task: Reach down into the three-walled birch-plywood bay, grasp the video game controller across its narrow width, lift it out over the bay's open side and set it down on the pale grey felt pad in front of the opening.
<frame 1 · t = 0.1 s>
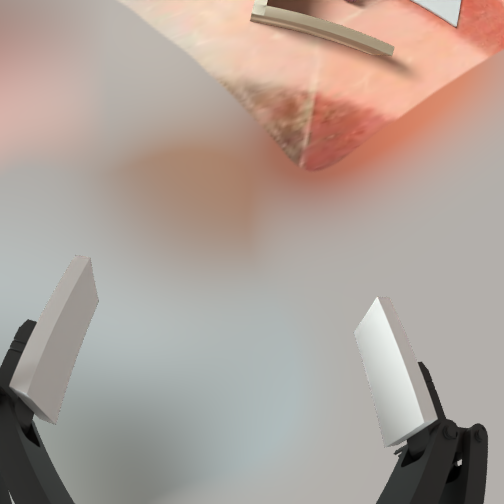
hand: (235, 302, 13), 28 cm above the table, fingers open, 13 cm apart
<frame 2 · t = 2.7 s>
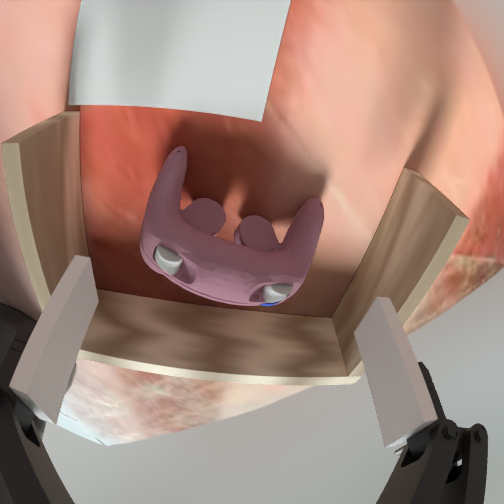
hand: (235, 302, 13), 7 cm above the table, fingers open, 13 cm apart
bay: (225, 245, 20), on the table
pad: (176, 11, 11), on the table
video game controller: (234, 206, 18), on the table
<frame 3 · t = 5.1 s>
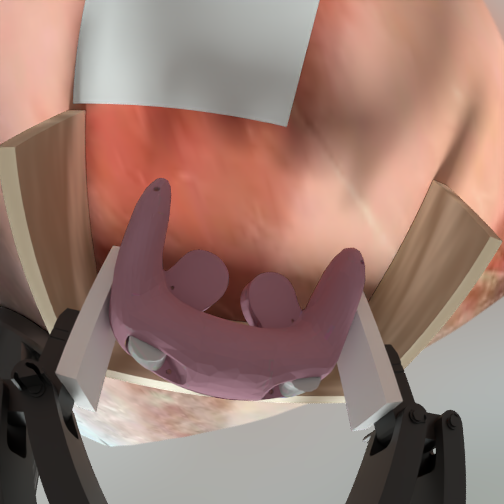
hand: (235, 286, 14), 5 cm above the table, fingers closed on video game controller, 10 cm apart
bay: (242, 258, 18), on the table
pad: (193, 1, 10), on the table
video game controller: (241, 257, 13), point 4 cm above the table, touching gripper
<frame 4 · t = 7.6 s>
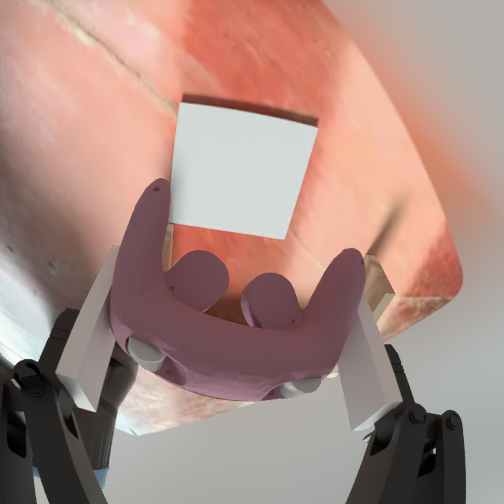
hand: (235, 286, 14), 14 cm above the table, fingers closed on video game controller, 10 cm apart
bay: (259, 297, 34), on the table
pad: (237, 173, 25), on the table
video game controller: (241, 258, 13), point 13 cm above the table, touching gripper
when the fingers open (2 cm above the table, at t = 10.2 s): video game controller stays where it is, resting on pad.
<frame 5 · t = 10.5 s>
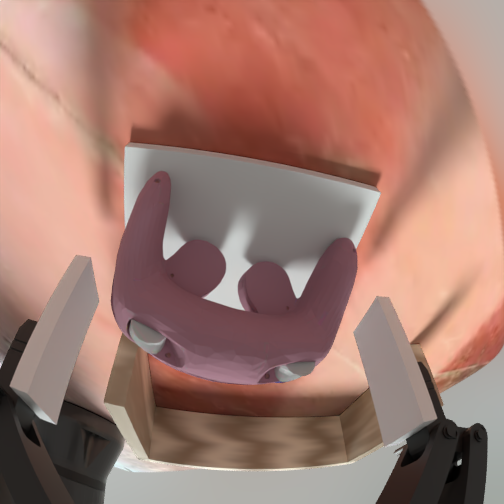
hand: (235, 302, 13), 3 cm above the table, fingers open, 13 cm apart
bay: (266, 393, 24), on the table
pad: (236, 263, 15), on the table
video game controller: (238, 248, 14), resting on pad
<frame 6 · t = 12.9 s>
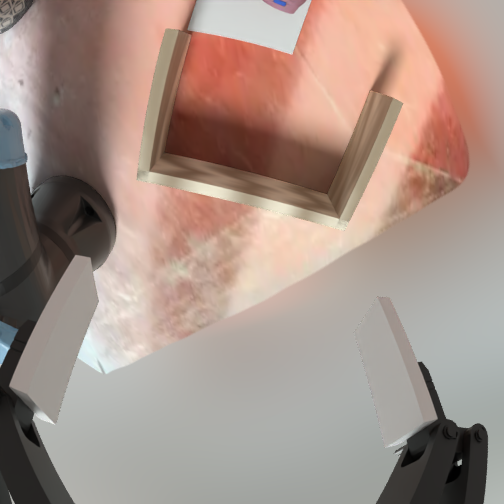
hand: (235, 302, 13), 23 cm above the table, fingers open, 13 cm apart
bay: (263, 123, 30), on the table
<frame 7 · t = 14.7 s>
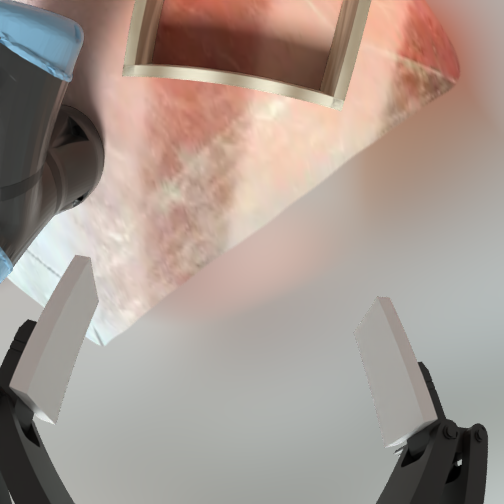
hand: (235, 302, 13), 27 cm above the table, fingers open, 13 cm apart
bay: (246, 25, 26), on the table
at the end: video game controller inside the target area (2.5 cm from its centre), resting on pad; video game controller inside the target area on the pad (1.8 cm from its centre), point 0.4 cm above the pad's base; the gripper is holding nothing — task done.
